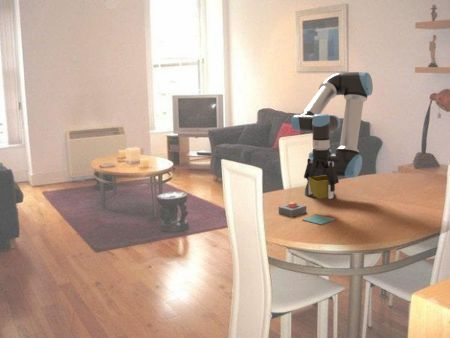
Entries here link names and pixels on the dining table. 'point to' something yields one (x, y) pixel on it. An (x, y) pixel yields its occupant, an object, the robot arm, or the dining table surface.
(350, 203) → the dining table surface
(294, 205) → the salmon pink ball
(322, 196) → the flower pot
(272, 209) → the dining table surface
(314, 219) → the pad
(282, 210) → the housing
